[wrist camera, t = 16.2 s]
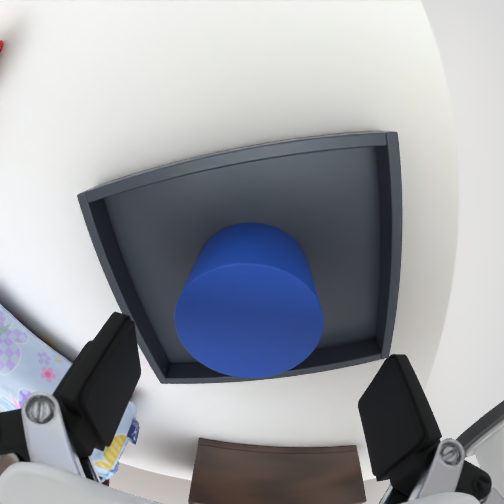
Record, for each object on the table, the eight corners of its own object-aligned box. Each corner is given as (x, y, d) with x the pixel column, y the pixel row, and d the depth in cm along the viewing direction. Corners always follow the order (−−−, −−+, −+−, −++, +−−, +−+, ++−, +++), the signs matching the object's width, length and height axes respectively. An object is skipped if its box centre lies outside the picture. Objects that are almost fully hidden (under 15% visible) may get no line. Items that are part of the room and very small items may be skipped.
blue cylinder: (321, 233, 14) (343, 277, 10) (293, 327, 16) (300, 384, 12) (200, 213, 13) (175, 250, 9) (192, 311, 16) (174, 366, 12)
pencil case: (154, 396, 21) (125, 489, 12) (125, 423, 24) (102, 492, 15) (-19, 258, 16) (-82, 312, 7) (-17, 312, 19) (-62, 361, 10)
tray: (380, 130, 12) (397, 131, 10) (379, 337, 17) (388, 357, 15) (96, 186, 13) (76, 195, 12) (167, 364, 19) (160, 383, 17)
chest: (356, 445, 24) (366, 501, 17) (319, 478, 29) (322, 521, 22) (199, 437, 24) (188, 501, 17) (197, 471, 29) (190, 517, 22)
